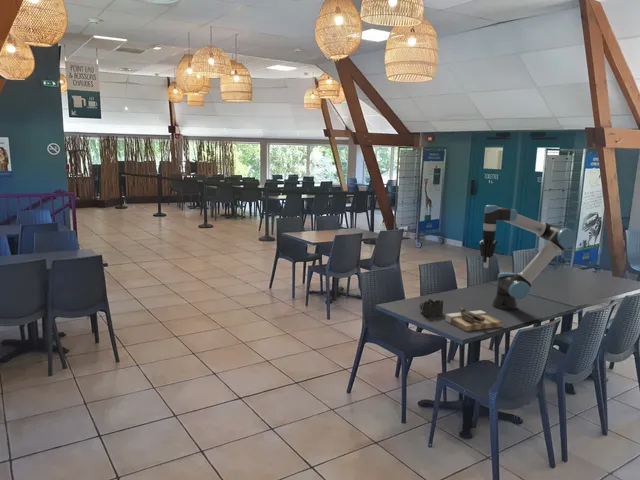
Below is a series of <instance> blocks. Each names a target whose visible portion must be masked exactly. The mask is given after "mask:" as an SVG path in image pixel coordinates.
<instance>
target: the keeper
mask: <svg viewBox="0 0 640 480" xmlns="http://www.w3.org/2000/svg"><path fill="white" fill-rule="evenodd" d="M462 319H463V320H465V321H467V322H469V323H474V317H473V316H471V315H469V314H467V313H463V315H462Z"/></svg>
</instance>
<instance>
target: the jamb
mask: <svg viewBox="0 0 640 480" xmlns="http://www.w3.org/2000/svg"><path fill="white" fill-rule="evenodd" d="M468 311H469V312H471V313H474V314H476V315H484V314H487V312H486V311H483V310H480V309H479V310H468ZM462 315H463V314H462V311H460V312H452V313H451V312H450V313H446V314H445V321H446V322H448V323H449V324H451V318H458V317H462Z"/></svg>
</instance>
